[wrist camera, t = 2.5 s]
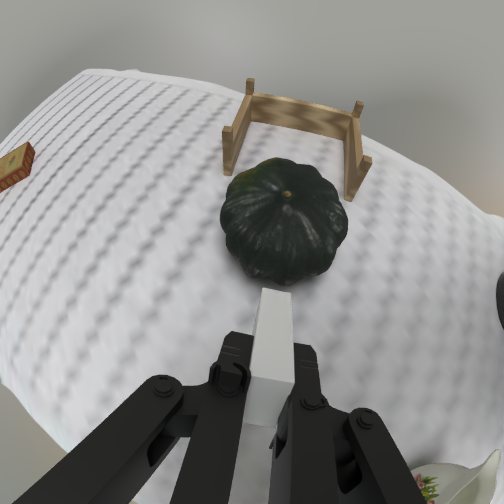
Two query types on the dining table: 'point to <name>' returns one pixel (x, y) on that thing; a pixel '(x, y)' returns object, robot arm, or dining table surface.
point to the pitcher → (458, 482)
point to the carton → (16, 165)
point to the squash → (283, 221)
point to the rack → (302, 119)
